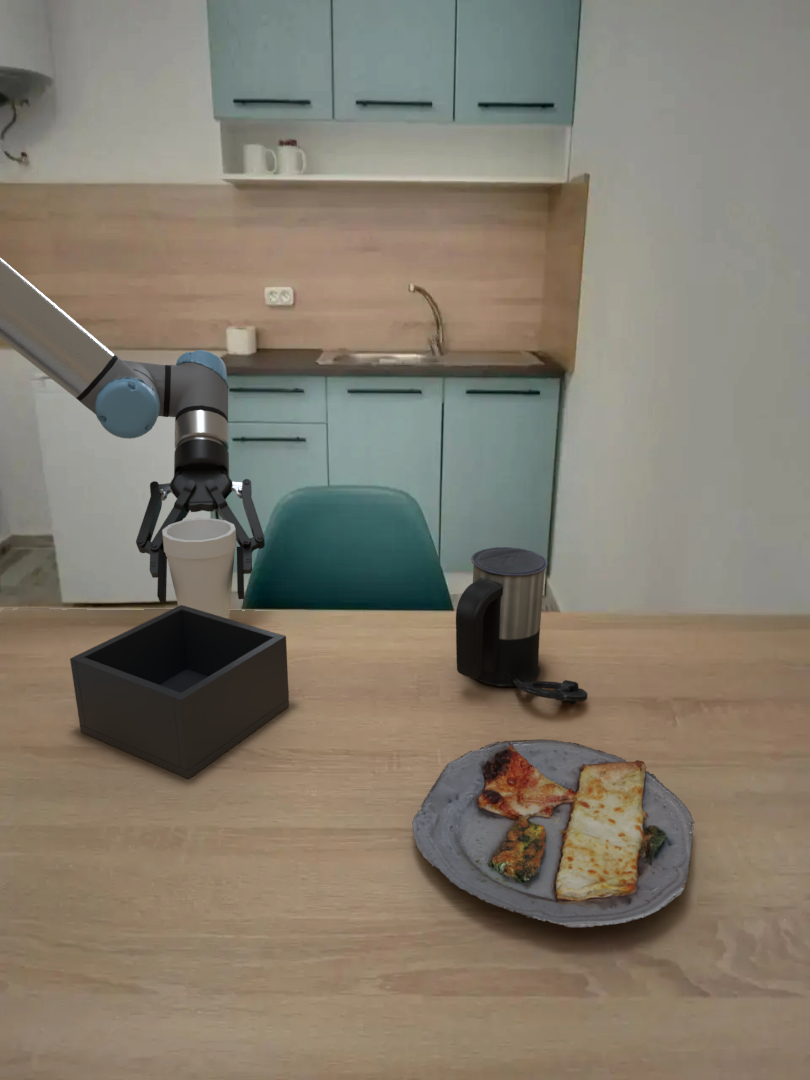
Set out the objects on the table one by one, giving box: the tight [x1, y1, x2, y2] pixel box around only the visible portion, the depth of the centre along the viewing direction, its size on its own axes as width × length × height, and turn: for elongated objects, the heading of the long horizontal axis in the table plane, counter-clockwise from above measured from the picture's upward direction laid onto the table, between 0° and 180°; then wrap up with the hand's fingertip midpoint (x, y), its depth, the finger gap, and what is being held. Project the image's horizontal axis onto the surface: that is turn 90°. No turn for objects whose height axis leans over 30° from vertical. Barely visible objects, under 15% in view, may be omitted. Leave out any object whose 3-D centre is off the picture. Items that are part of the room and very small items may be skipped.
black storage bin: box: [69, 605, 290, 780], centre depth 91 cm, size 16×16×9 cm
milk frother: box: [455, 546, 589, 705], centre depth 98 cm, size 14×16×15 cm
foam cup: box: [162, 517, 238, 619], centre depth 111 cm, size 10×9×13 cm
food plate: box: [412, 738, 695, 929], centre depth 74 cm, size 25×23×4 cm
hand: (201, 597), depth 109 cm, fingers closed on foam cup, 9 cm apart
